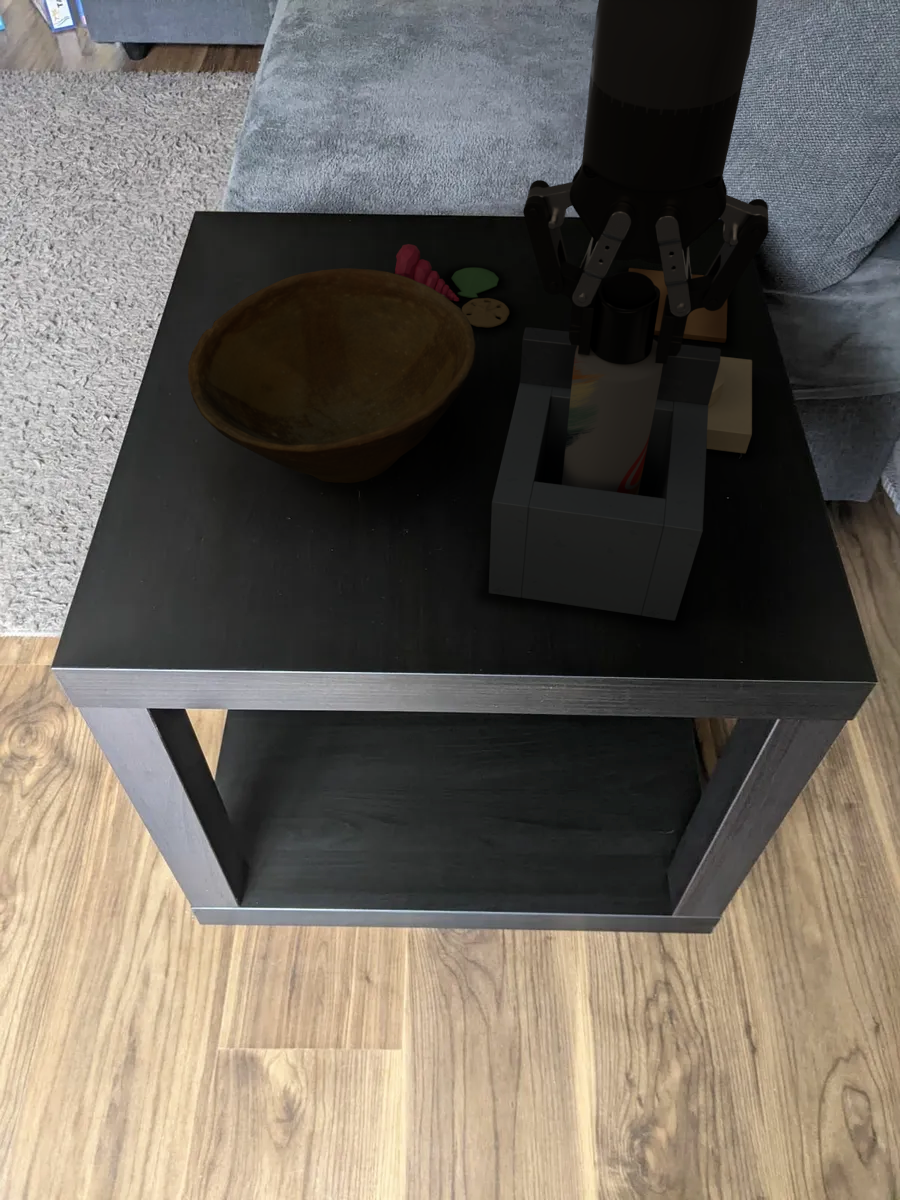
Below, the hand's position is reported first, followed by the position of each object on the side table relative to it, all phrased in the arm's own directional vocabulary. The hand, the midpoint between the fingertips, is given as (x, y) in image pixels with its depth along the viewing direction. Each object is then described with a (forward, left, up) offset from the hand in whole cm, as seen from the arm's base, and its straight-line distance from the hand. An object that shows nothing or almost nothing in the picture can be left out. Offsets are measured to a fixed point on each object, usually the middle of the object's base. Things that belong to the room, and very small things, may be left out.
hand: (623, 350), depth 60 cm
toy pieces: (+17, -29, -18) cm, 38 cm away
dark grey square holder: (0, 0, -18) cm, 18 cm away
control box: (-6, -17, -18) cm, 25 cm away
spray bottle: (0, 0, -15) cm, 15 cm away
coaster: (-5, -32, -18) cm, 37 cm away
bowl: (+22, -7, -18) cm, 30 cm away
